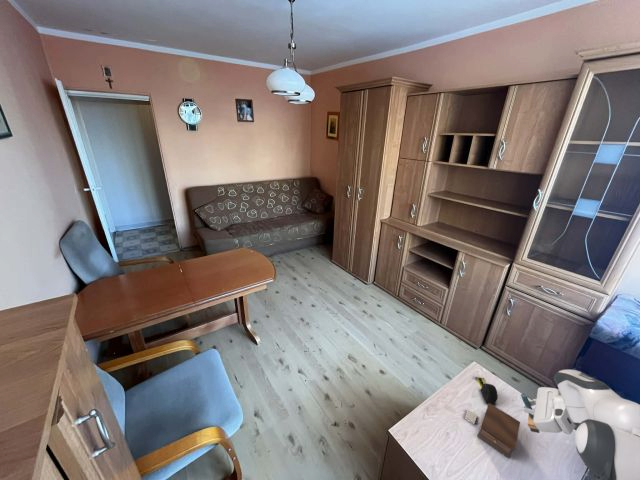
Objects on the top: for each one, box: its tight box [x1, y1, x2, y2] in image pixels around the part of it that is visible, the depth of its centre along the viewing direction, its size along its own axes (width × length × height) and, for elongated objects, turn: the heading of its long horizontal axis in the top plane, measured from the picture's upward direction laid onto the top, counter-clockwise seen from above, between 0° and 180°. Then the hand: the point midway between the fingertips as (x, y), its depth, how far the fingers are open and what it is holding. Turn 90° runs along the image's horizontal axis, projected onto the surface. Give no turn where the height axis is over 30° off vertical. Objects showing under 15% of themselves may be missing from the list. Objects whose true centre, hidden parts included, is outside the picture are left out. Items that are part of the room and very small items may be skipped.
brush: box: [520, 393, 541, 434], centre depth 109 cm, size 8×3×13 cm
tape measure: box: [475, 376, 499, 406], centre depth 137 cm, size 15×4×8 cm, turn 171°
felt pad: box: [464, 410, 478, 425], centre depth 126 cm, size 4×4×2 cm
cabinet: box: [476, 403, 521, 458], centre depth 118 cm, size 15×13×8 cm
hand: (524, 406), depth 110 cm, fingers closed on brush, 2 cm apart
